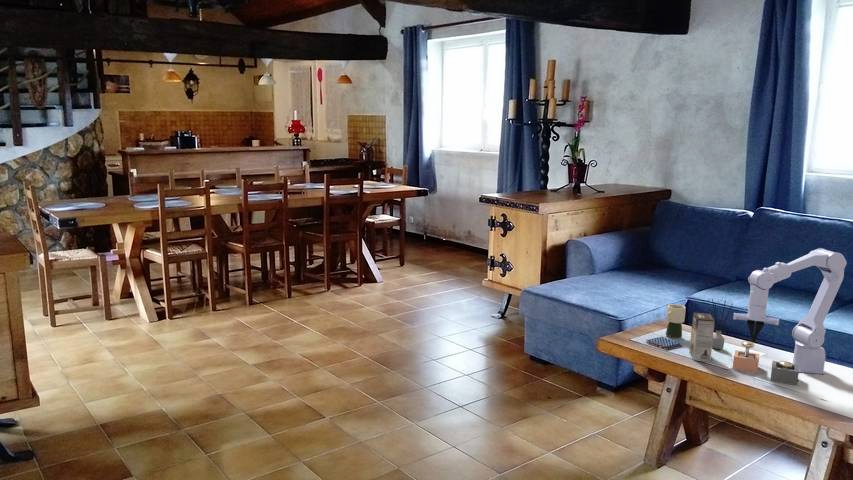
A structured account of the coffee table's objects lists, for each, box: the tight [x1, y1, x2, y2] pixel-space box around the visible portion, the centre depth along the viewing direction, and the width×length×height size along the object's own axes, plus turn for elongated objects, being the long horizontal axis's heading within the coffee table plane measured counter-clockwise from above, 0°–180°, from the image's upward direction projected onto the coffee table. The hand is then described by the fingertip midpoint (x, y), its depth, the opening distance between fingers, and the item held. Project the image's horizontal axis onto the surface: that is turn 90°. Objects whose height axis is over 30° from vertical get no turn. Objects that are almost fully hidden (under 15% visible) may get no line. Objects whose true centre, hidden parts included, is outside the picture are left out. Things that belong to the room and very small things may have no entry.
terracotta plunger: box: [739, 340, 755, 359], centre depth 241 cm, size 5×5×6 cm
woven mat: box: [645, 336, 683, 351], centre depth 265 cm, size 10×11×2 cm
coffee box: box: [688, 312, 716, 362], centre depth 250 cm, size 9×6×16 cm
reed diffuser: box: [711, 298, 733, 350], centre depth 260 cm, size 10×7×20 cm
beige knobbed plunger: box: [778, 360, 793, 369], centre depth 231 cm, size 5×5×6 cm
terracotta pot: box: [732, 350, 760, 374], centre depth 241 cm, size 8×8×5 cm
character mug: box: [665, 303, 687, 339], centre depth 275 cm, size 11×7×13 cm, turn 125°
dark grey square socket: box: [770, 360, 800, 386], centre depth 231 cm, size 8×8×5 cm
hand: (753, 341), depth 239 cm, fingers closed
